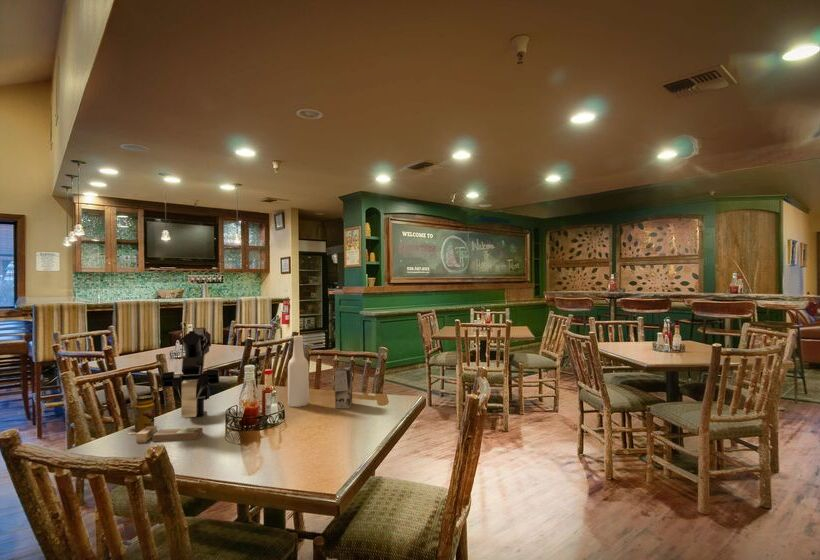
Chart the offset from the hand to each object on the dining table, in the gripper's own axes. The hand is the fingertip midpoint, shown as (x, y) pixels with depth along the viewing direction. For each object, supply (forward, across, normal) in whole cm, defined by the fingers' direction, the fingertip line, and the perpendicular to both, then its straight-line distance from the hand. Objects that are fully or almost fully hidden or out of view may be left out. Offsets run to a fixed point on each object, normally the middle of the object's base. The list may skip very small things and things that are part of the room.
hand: (189, 397), depth 155 cm
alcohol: (-9, +40, +27) cm, 49 cm away
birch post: (+4, 0, +6) cm, 7 cm away
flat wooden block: (+11, -3, +7) cm, 13 cm away
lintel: (+9, -13, +9) cm, 18 cm away
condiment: (+2, -16, +16) cm, 23 cm away
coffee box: (-3, +59, +21) cm, 62 cm away
